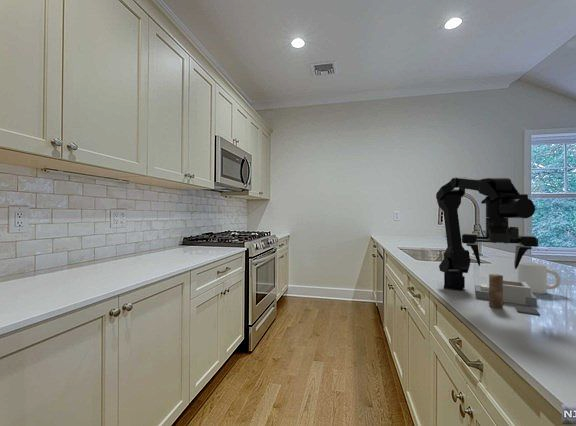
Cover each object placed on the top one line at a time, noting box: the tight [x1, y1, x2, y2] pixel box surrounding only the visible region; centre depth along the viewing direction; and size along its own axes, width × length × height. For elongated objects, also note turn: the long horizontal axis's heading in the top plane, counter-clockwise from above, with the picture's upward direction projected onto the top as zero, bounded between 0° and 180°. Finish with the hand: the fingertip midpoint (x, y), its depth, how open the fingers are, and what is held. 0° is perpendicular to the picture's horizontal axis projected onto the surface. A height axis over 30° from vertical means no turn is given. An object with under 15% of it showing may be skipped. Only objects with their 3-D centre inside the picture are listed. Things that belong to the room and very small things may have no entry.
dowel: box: [488, 273, 504, 310], centre depth 87 cm, size 4×4×10 cm
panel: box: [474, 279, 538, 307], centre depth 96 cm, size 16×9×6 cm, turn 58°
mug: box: [517, 261, 562, 295], centre depth 103 cm, size 12×8×10 cm
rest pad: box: [514, 305, 541, 317], centre depth 83 cm, size 5×5×1 cm
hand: (496, 267), depth 87 cm, fingers open, 9 cm apart
